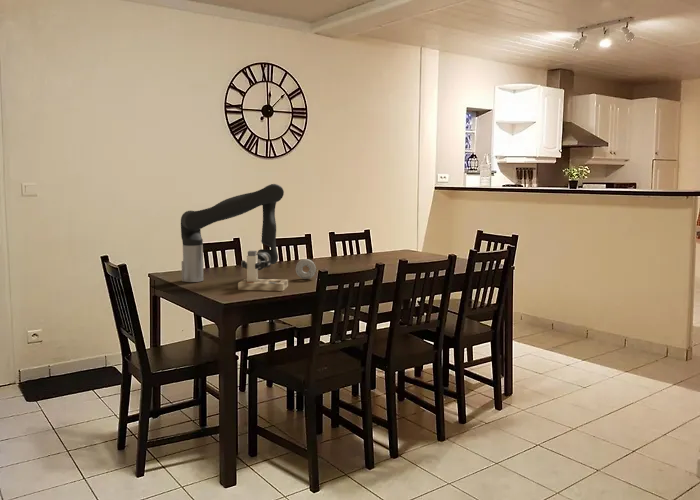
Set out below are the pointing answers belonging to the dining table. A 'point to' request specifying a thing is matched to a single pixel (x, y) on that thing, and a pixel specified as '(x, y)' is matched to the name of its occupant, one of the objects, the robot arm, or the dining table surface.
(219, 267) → the dining table surface
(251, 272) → the plug
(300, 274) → the donut
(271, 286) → the socket board
